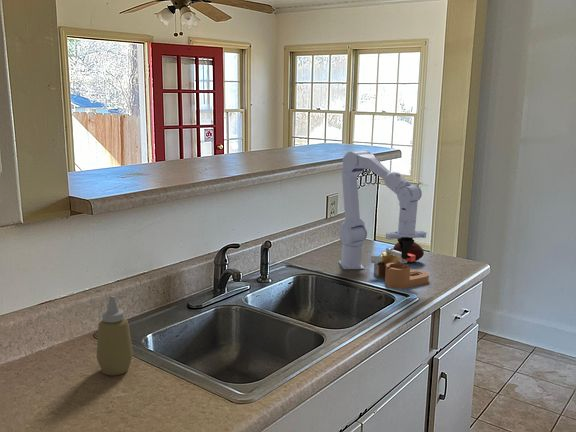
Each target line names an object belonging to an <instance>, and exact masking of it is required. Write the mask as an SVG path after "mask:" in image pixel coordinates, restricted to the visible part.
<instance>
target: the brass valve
mask: <svg viewBox="0 0 576 432" xmlns="http://www.w3.org/2000/svg"><path fill="white" fill-rule="evenodd" d="M388 263H404V264H407V260H404V259H401V257H399V256H396V255H393V254H387V253H386V251H381V253H380V255H371V256H370V264H373V274H374V275H375V276H376V277H377V279H385V272H386V264H388Z"/></svg>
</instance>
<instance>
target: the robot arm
mask: <svg viewBox="0 0 576 432" xmlns="http://www.w3.org/2000/svg"><path fill="white" fill-rule="evenodd" d="M365 170H370V171H371V172H373V173H374V174H375V175H377V176H378V177H380V178H381V179H382V180H383V181H384V185H385V186H386V187H387V188H388V189H389V190H391V191H392V192H393V193H394V194H395V195H396V197H397V200H398V201H399V203H398V205H399V216H398V217H399V218H398V226H397V227H398V228H397V231H391V232H386V233H385V239H386V240H387V241H391V240H397V241H398V242H399V244H400V247H401V251H402V253H401V257H402V258H403V259H407V257H408V252H409V250H410V248H411V246H412V245H413V243H414V242H415V239H416V238H417V239H421V238H422V239H426V238H427V232H426V231H424V230H422V231H420V230H416V226H417V223H416V222H417V214H418V213H417V212H418V202H419V201H420V199H421V198H422V195H423V194H422V192H423V191H422V190H421V187H420V186H419V185H418V184H412V183H411V182H410V181H409V180H407V179H406V178H404V177H403V176H402V175H401V173H400V172H396V171H392V172H391V171H390V169H388V168H387V167H386V166H385V165H383V163H381V162H380V161H379V160H378V159H377V158H376V157H375V155H374V154H373V153H371V151H369V150H360V151H348V152H347V153H345V154H344V156H343V157H342V170H341V181H342V194H343V196H342V197H343V206H344V207H343V208H344V221H342V223H341V224H340V231H339V236H338V237H339V240H340V242H341V244H342V245H341V253H340V254H341V255H340V256H341V257H340V260H338V264H339V265H340V267H342V269H343V270H364V269H365V267H364V266H363V264H362V256H363V255H362V254H363V244H364V241H365V240H367V238H368V237H367V236H368V231H367V229H366V225H365V222H364V221H363V219H361V217H360V216H361V215H360V202H359V189H358V187H359V186H358V176H359V175H360V174H361V173H362V172H363V171H365ZM398 242H397V243H398Z"/></svg>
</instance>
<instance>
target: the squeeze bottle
mask: <svg viewBox="0 0 576 432" xmlns="http://www.w3.org/2000/svg"><path fill="white" fill-rule="evenodd" d="M101 314H102V320H100V322H99V323H98V325H97V326H98V328H97V331H98V332H97V344H96V360H97V363H98V364H99V368H100V370H101V371H102V373H103V374H105V375H107V376H120V375H122V374H125V373H126V372H128V370H129V368H130V365H131V362H132V359H133V355H134V352H133V344H132V337H131V331H130V324H129V320H128V319H127V318H125V313H124V310H123V309H121V308H119V306H118V302H117V299H116V296H115V295H111V296H109V297H108V304H107V309H106V310H103V312H102V313H101Z"/></svg>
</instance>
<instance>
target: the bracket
mask: <svg viewBox="0 0 576 432" xmlns="http://www.w3.org/2000/svg"><path fill="white" fill-rule="evenodd" d="M429 280H430V273H429V272H427V271H424V270H421V269H411V266H410V265H409V264H405V263H388V264H386V272H385V278H384V285H385V286H387V287H388V288H391V289H399V290H400V289H402V290H403V289H407V288H413V287H415V286H416V287H417V286H421V285H425V284H428V283H429Z"/></svg>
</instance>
